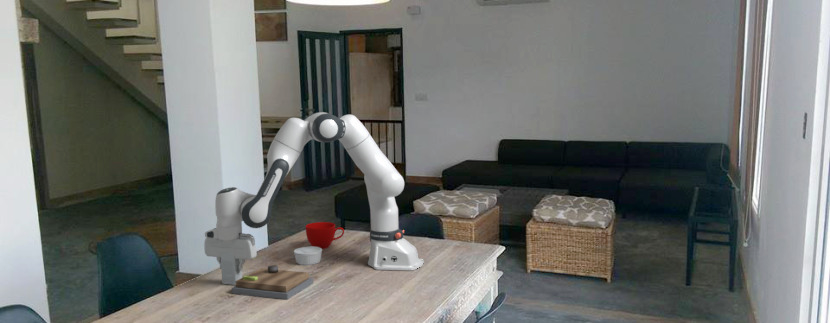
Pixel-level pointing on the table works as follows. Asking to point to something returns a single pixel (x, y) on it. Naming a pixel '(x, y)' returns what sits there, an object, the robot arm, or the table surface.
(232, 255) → the skincare box
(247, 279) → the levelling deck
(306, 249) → the ramekin
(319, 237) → the ceramic cup
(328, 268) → the table surface
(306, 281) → the grey rectangular slab
